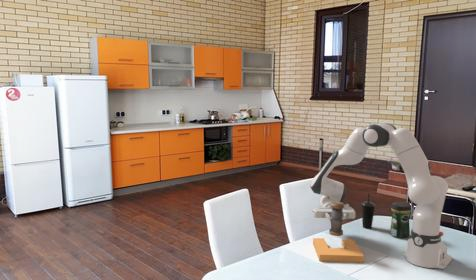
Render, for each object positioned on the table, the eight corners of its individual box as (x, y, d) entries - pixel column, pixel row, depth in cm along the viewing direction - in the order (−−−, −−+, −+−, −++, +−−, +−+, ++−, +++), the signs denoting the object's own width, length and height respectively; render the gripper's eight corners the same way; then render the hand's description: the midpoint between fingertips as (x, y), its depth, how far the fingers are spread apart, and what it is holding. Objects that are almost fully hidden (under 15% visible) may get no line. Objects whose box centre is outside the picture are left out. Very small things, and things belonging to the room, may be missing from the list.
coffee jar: (402, 232, 214) (404, 199, 212) (412, 237, 206) (414, 203, 204) (387, 233, 211) (388, 200, 209) (396, 239, 204) (398, 204, 201)
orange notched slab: (313, 243, 197) (313, 238, 196) (352, 244, 196) (353, 239, 196) (319, 260, 177) (319, 254, 177) (363, 262, 176) (364, 255, 176)
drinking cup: (376, 227, 221) (378, 193, 219) (370, 230, 216) (372, 195, 213) (363, 224, 227) (365, 190, 224) (357, 227, 221) (359, 193, 218)
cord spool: (335, 230, 193) (336, 201, 191) (345, 234, 188) (347, 204, 186) (326, 233, 189) (327, 203, 187) (337, 237, 184) (338, 206, 182)
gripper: (311, 203, 200) (315, 211, 187) (351, 203, 199) (358, 212, 186) (311, 214, 201) (315, 224, 187) (351, 215, 200) (358, 225, 186)
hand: (337, 218), depth 187 cm, fingers closed on cord spool, 5 cm apart
